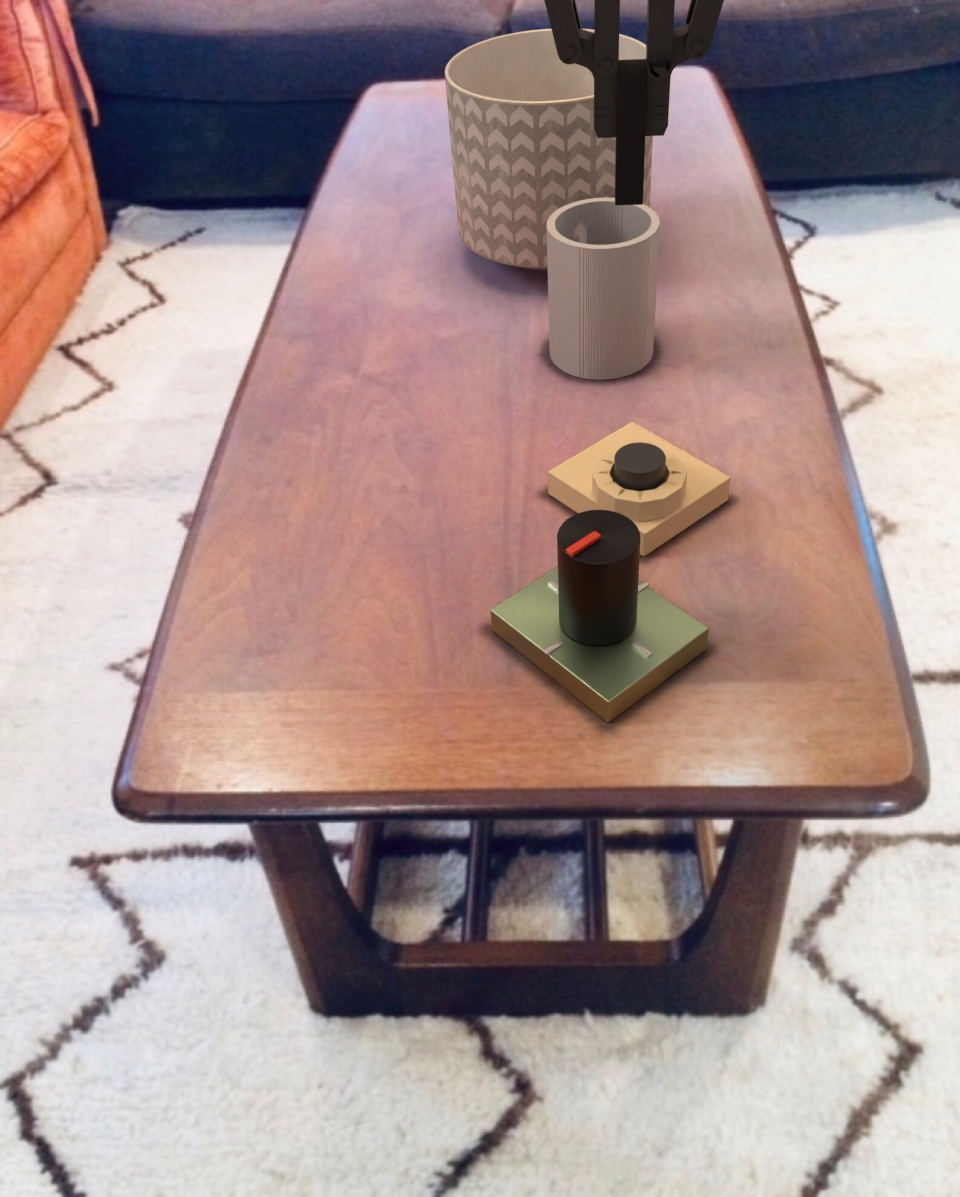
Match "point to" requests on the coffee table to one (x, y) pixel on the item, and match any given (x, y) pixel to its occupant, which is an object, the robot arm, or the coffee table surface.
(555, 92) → the planter
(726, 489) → the button box
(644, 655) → the dial panel
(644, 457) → the button
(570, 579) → the knob
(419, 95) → the coffee table surface
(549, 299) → the cup
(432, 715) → the coffee table surface
